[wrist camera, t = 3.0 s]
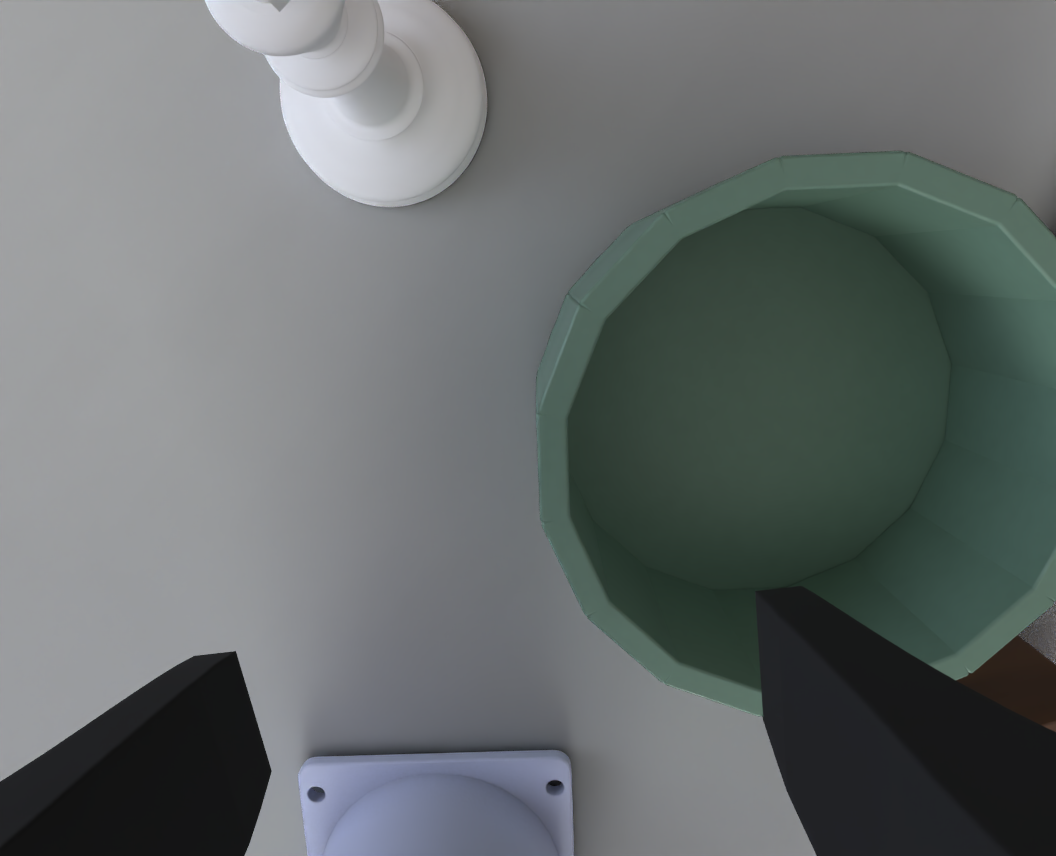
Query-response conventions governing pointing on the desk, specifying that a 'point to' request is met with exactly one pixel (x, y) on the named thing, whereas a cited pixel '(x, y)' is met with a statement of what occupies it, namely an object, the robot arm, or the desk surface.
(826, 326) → the tub
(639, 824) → the desk surface
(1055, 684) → the block
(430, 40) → the chess piece
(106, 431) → the desk surface
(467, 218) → the desk surface
